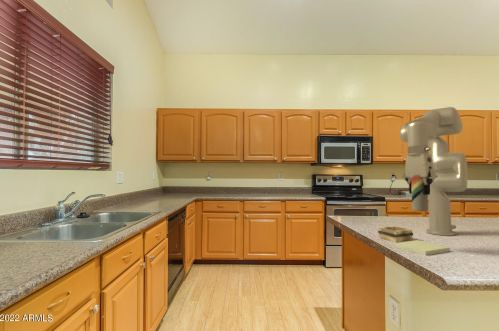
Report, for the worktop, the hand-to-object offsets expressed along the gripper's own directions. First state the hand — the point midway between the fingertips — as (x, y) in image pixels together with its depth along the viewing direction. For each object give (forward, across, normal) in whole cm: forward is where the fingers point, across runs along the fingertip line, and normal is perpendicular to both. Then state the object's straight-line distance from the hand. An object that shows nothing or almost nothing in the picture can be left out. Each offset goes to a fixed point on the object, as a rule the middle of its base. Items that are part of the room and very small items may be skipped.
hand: (419, 193), depth 115 cm
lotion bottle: (+7, 0, 0) cm, 7 cm away
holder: (+23, +17, -5) cm, 29 cm away
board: (+23, 0, 0) cm, 23 cm away
